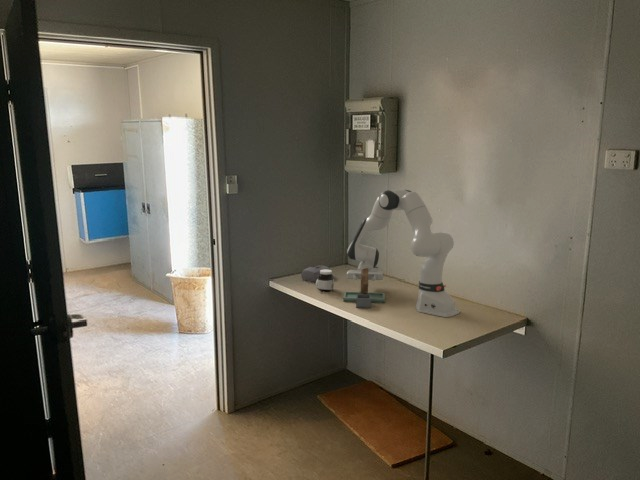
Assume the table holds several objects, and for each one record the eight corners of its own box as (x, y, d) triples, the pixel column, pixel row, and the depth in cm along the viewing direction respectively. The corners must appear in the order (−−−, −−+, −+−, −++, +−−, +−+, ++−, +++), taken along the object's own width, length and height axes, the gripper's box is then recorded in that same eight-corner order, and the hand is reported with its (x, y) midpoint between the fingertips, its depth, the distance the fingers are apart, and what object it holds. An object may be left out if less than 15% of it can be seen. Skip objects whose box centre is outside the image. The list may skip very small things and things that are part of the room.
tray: (384, 296, 283) (384, 292, 283) (384, 302, 272) (384, 299, 271) (344, 294, 286) (344, 291, 285) (343, 301, 274) (343, 297, 274)
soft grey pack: (315, 283, 309) (336, 277, 324) (316, 270, 307) (337, 264, 322) (298, 279, 319) (319, 273, 333) (297, 266, 317) (319, 261, 332)
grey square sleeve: (370, 303, 270) (371, 294, 269) (370, 308, 263) (370, 299, 262) (356, 303, 271) (356, 294, 270) (356, 307, 264) (356, 298, 263)
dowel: (369, 297, 278) (370, 268, 276) (364, 298, 276) (365, 269, 273) (363, 295, 281) (364, 267, 279) (358, 297, 279) (359, 268, 276)
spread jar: (327, 293, 289) (327, 273, 287) (310, 290, 294) (310, 271, 292) (337, 288, 299) (337, 269, 297) (320, 285, 304) (320, 266, 302)
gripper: (346, 266, 290) (345, 272, 276) (383, 267, 288) (383, 273, 274) (346, 277, 291) (345, 283, 277) (382, 278, 289) (383, 285, 275)
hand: (364, 278), depth 276 cm, fingers open, 8 cm apart
